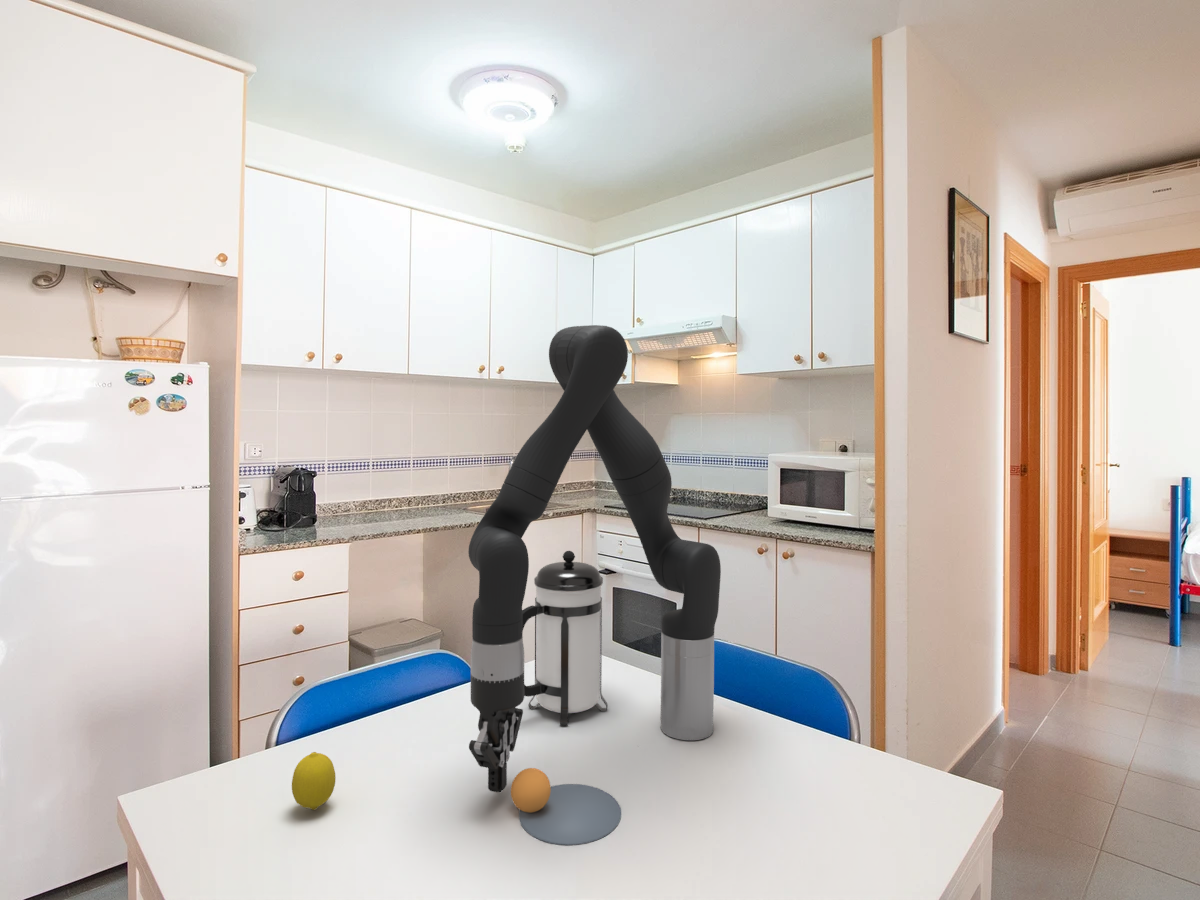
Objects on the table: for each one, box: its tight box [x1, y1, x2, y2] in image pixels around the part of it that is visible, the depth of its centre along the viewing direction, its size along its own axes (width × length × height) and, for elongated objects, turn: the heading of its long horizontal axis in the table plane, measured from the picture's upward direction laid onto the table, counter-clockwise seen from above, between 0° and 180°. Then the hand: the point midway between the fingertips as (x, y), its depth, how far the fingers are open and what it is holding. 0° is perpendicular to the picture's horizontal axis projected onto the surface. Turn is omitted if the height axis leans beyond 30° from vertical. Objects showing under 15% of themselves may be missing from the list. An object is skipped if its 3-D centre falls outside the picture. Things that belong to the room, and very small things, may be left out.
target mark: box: [518, 783, 622, 846], centre depth 91 cm, size 14×14×1 cm
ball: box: [510, 767, 551, 813], centre depth 91 cm, size 6×6×6 cm
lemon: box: [291, 751, 336, 811], centre depth 91 cm, size 6×6×8 cm
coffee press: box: [522, 550, 609, 727], centre depth 122 cm, size 17×16×30 cm
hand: (497, 788), depth 94 cm, fingers closed
